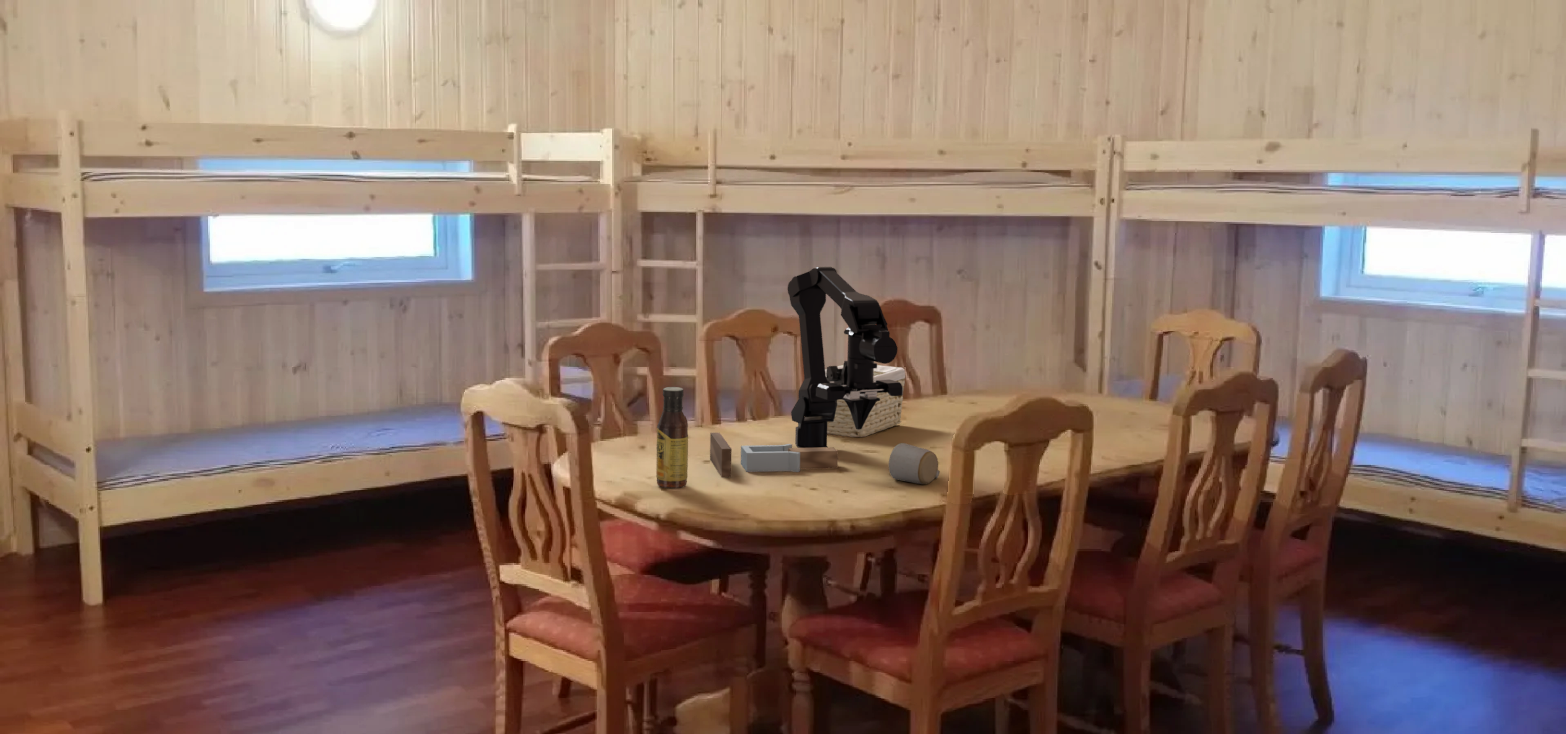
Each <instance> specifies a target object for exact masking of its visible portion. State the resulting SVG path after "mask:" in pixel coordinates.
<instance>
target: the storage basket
mask: <svg viewBox="0 0 1566 734" xmlns="http://www.w3.org/2000/svg"><path fill="white" fill-rule="evenodd" d="M836 366H837V365H836ZM843 366H844V364H843V365H838V366H837V367H838V369H842V368H843ZM826 371H827V368H825V373H826ZM905 379H906V369H904V368H903V367H900V366H899V367H898V366H896V367H895V366H890V365H879V364H877V368H874V377H873V382H876V381H877V380H893V381H897V382H900V383H901V384H902V386H903V391H904V389H905V387H904V386H905V383H906V382H905V381H906V380H905ZM830 383H834V381H831V382H830ZM842 386H846V385H842ZM903 396H904V395H902V396H890V395H889V394H888V392H883V393H877V398H880V401H877V402H876V403H875V405H874V407H873V408H872V410H871V411H870V413H869V415H868V417H867V419H866V421H865V423H864V425H863V427H862V429H860V430H858V429H856V428H855V424H854V421H853V418H852V415H851V412H850V410H849V407H848V405H847V404H846V402H845V401H844V400H837V408H836V413H835V417H834V421H833V422H827V435H828V434H829V435H835V436H842V437H850V438H863V437H864V438H865V437H868V436H869V435H873V434H876V433H878V432H881V431H884V430H887V429H889V428H892V427H894V426H897V425H900V424H901V418H902V410H903V401H904V397H903Z"/></svg>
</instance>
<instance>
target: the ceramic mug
mask: <svg viewBox="0 0 1566 734" xmlns="http://www.w3.org/2000/svg"><path fill="white" fill-rule="evenodd" d="M888 472H889V474H890V476H891V478H892V479H894V480H896V481H903V482H906V483H913V484H918V485H928V484H930V483H931V482H932V481H934V480H935V479H938V478H939V475H940V470H939V459H938V457H937V455H936V453H935V452H933V451H931V450H929V449H927V448H922V447H919V446H915V445H913V444H910V443H909V444H908V443H906V442H901V443H897V445H895V446H894V448H893V449H892V450H891V453H890V454H889V460H888Z"/></svg>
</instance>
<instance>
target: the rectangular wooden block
mask: <svg viewBox="0 0 1566 734" xmlns="http://www.w3.org/2000/svg"><path fill="white" fill-rule="evenodd" d="M789 451H791V452H798V453H800V470H808V469H809V470H813V469H814V470H816V469H821V470H822V469H838V465H839V464H838V459H839V458H838V457H839V450H838V449H836V448H835V447H832V446H827V447H819V448H798V447H792V448H788V452H789Z"/></svg>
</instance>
